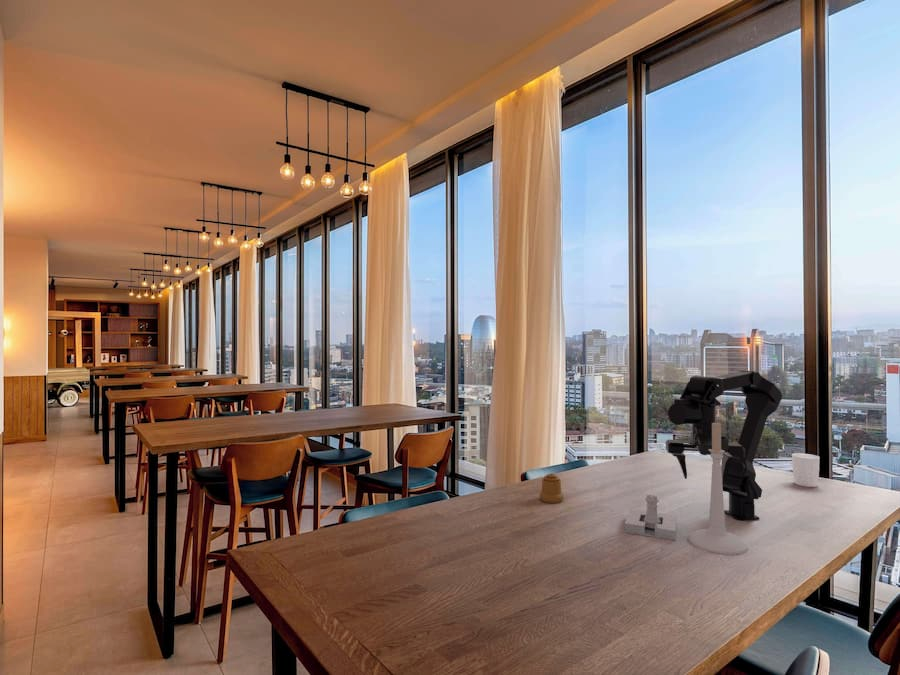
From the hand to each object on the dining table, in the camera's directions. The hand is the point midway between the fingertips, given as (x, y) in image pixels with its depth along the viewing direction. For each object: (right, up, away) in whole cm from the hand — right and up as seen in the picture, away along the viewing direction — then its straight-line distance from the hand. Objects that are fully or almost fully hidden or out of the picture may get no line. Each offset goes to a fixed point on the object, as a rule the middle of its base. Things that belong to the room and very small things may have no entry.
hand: (704, 479), depth 133 cm
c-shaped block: (-16, -12, -3) cm, 20 cm away
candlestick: (-4, -12, -13) cm, 18 cm away
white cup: (+55, -13, +37) cm, 67 cm away
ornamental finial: (-38, -13, +20) cm, 44 cm away
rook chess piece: (-16, -12, -3) cm, 20 cm away
